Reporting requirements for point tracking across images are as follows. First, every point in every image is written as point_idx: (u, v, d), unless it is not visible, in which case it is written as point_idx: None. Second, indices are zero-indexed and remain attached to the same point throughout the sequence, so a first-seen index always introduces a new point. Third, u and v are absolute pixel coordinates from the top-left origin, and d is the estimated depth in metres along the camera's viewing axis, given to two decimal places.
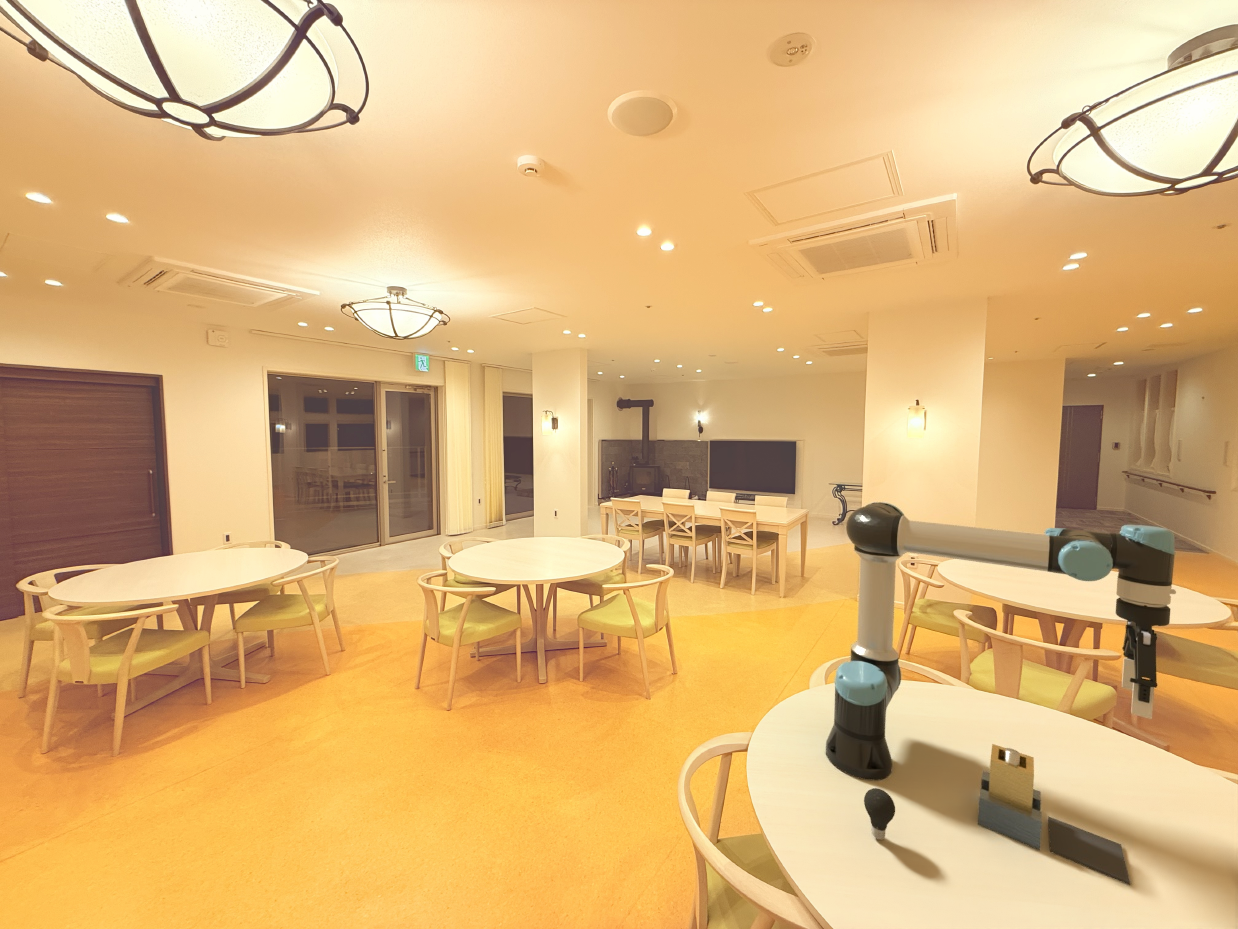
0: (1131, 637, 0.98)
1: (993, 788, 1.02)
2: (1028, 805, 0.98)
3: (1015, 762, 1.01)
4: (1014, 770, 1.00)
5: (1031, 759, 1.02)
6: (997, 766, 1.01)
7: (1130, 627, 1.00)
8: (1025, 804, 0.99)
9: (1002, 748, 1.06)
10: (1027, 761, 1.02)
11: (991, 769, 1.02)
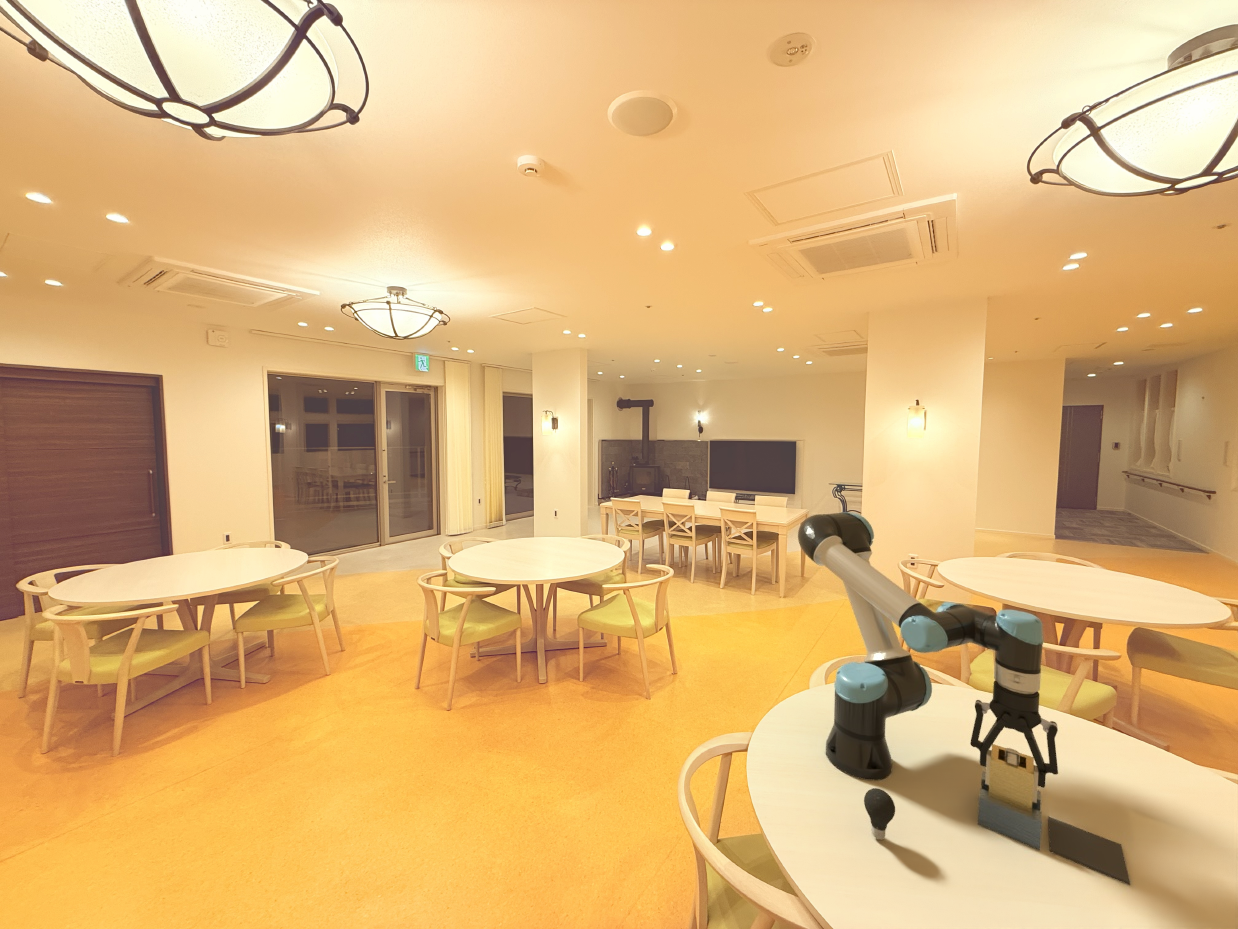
0: None
1: (993, 788, 1.02)
2: (1028, 805, 0.98)
3: (1015, 762, 1.01)
4: (1014, 770, 1.00)
5: (1031, 759, 1.02)
6: (997, 766, 1.01)
7: None
8: (1025, 804, 0.99)
9: (1002, 748, 1.06)
10: (1027, 761, 1.02)
11: (991, 769, 1.02)
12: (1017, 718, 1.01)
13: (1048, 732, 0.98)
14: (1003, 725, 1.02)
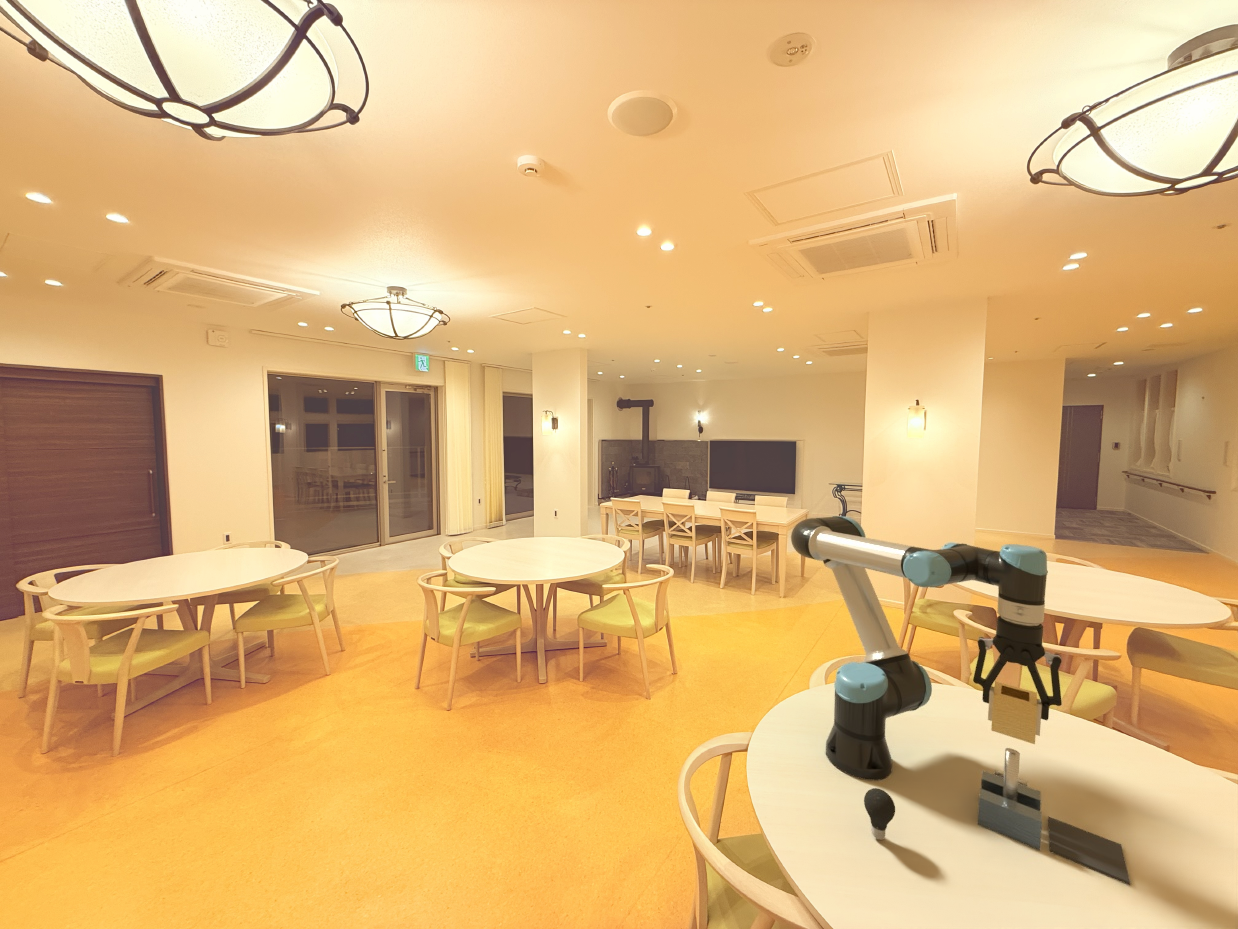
0: None
1: (996, 723, 1.01)
2: (1031, 737, 0.98)
3: (1015, 762, 1.01)
4: (1017, 703, 0.99)
5: (1034, 693, 1.02)
6: (1000, 700, 1.01)
7: None
8: (1028, 736, 0.98)
9: (1005, 685, 1.05)
10: (1030, 695, 1.01)
11: (994, 703, 1.01)
12: (1020, 651, 1.00)
13: (1052, 663, 0.97)
14: (1006, 659, 1.01)
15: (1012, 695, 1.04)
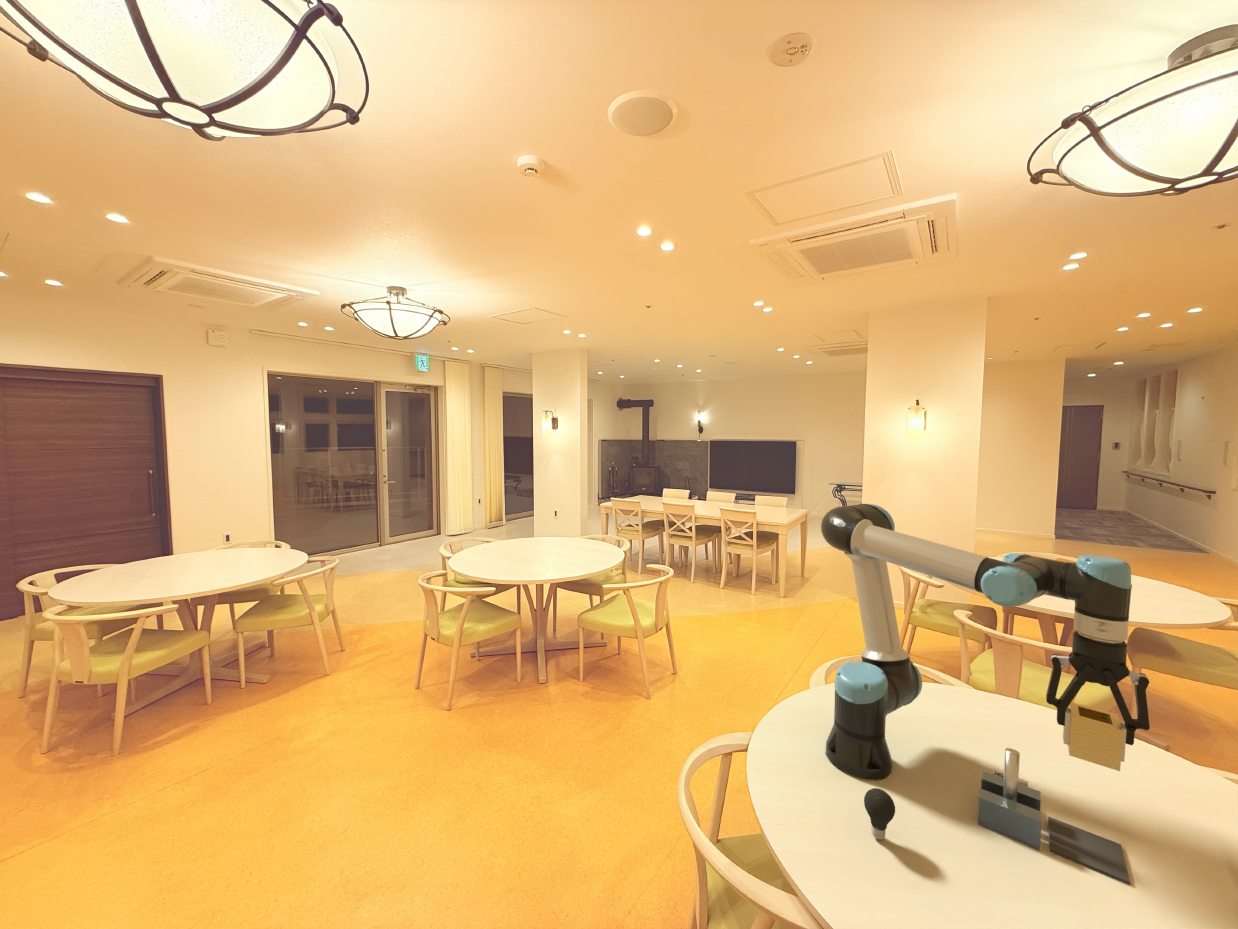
0: None
1: (1074, 747, 0.94)
2: (1116, 764, 0.91)
3: (1015, 762, 1.01)
4: (1099, 726, 0.92)
5: (1115, 715, 0.95)
6: (1079, 723, 0.94)
7: None
8: (1112, 763, 0.91)
9: (1081, 705, 0.98)
10: (1112, 717, 0.94)
11: (1072, 726, 0.94)
12: (1101, 671, 0.93)
13: (1138, 684, 0.90)
14: (1085, 679, 0.94)
15: (1090, 717, 0.97)
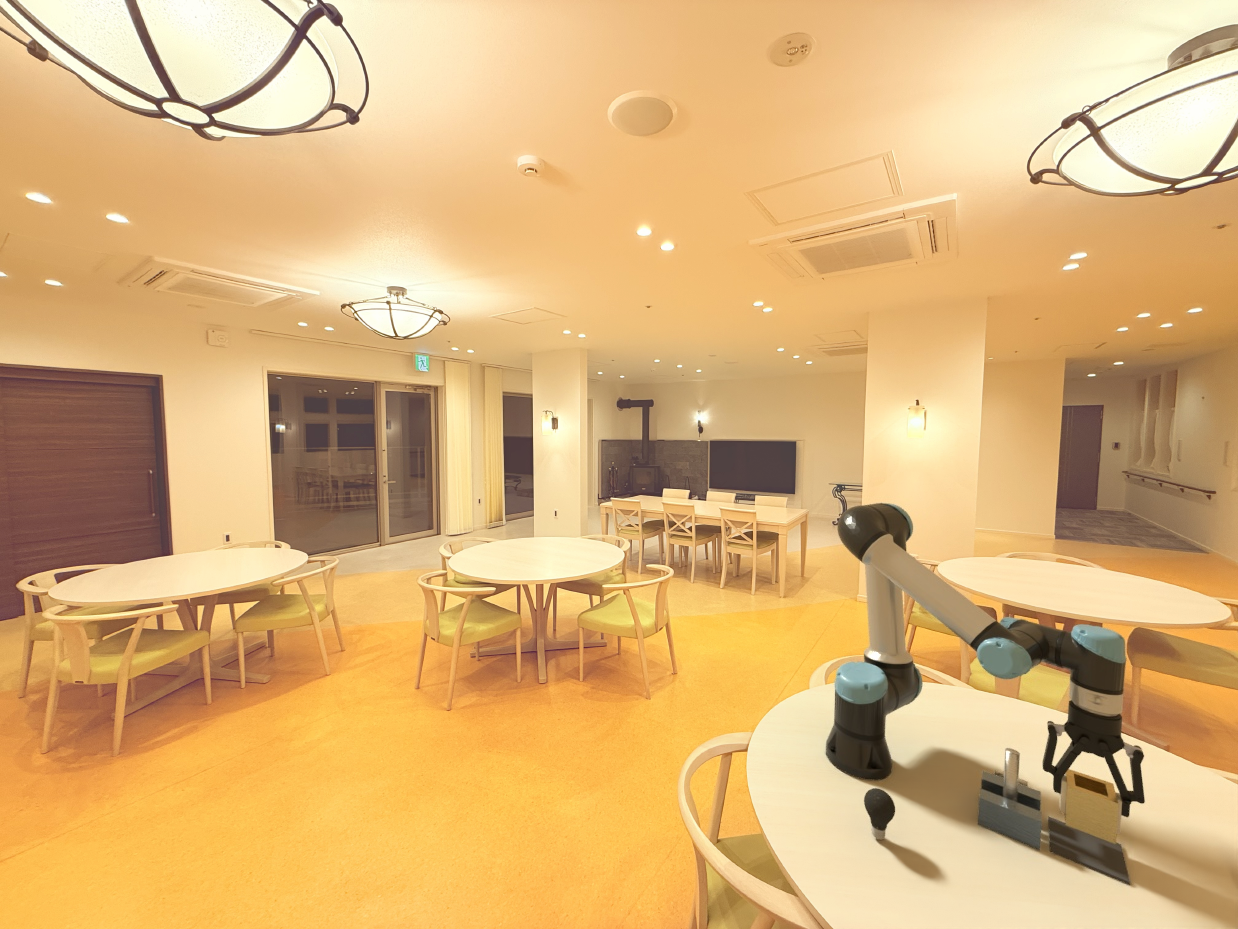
0: None
1: (1071, 817, 0.95)
2: (1112, 836, 0.91)
3: (1015, 762, 1.01)
4: (1095, 798, 0.93)
5: (1110, 785, 0.95)
6: (1075, 793, 0.94)
7: None
8: (1108, 835, 0.92)
9: (1077, 773, 0.99)
10: (1107, 788, 0.95)
11: (1068, 796, 0.95)
12: (1097, 742, 0.94)
13: (1133, 758, 0.91)
14: (1081, 749, 0.95)
15: (1086, 785, 0.98)
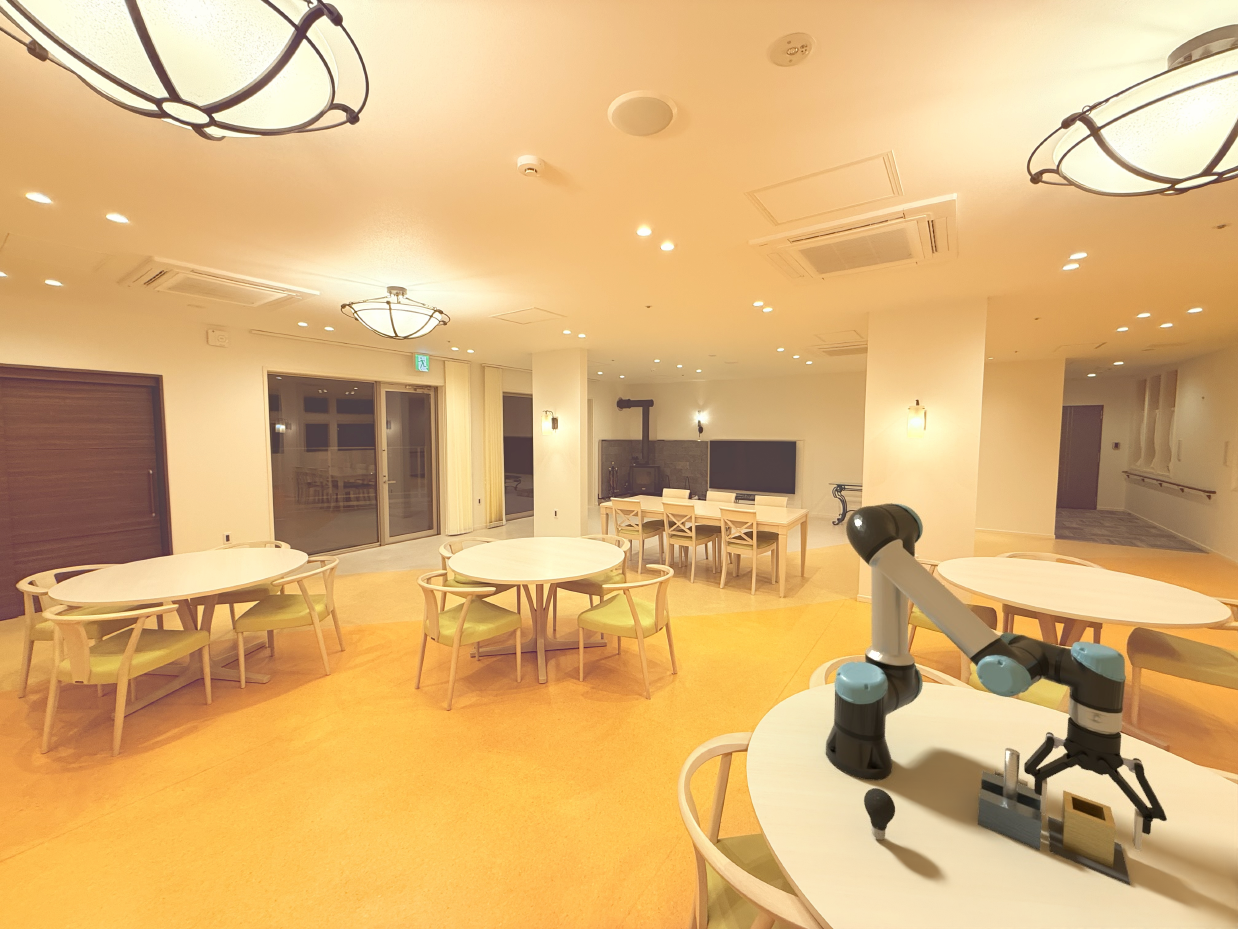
0: None
1: (1068, 840, 0.95)
2: (1109, 861, 0.92)
3: (1015, 762, 1.01)
4: (1093, 822, 0.93)
5: (1108, 809, 0.96)
6: (1073, 817, 0.95)
7: None
8: (1105, 859, 0.92)
9: (1075, 796, 0.99)
10: (1105, 812, 0.95)
11: (1066, 820, 0.95)
12: (1096, 760, 0.94)
13: (1135, 772, 0.91)
14: (1075, 763, 0.96)
15: (1083, 808, 0.98)
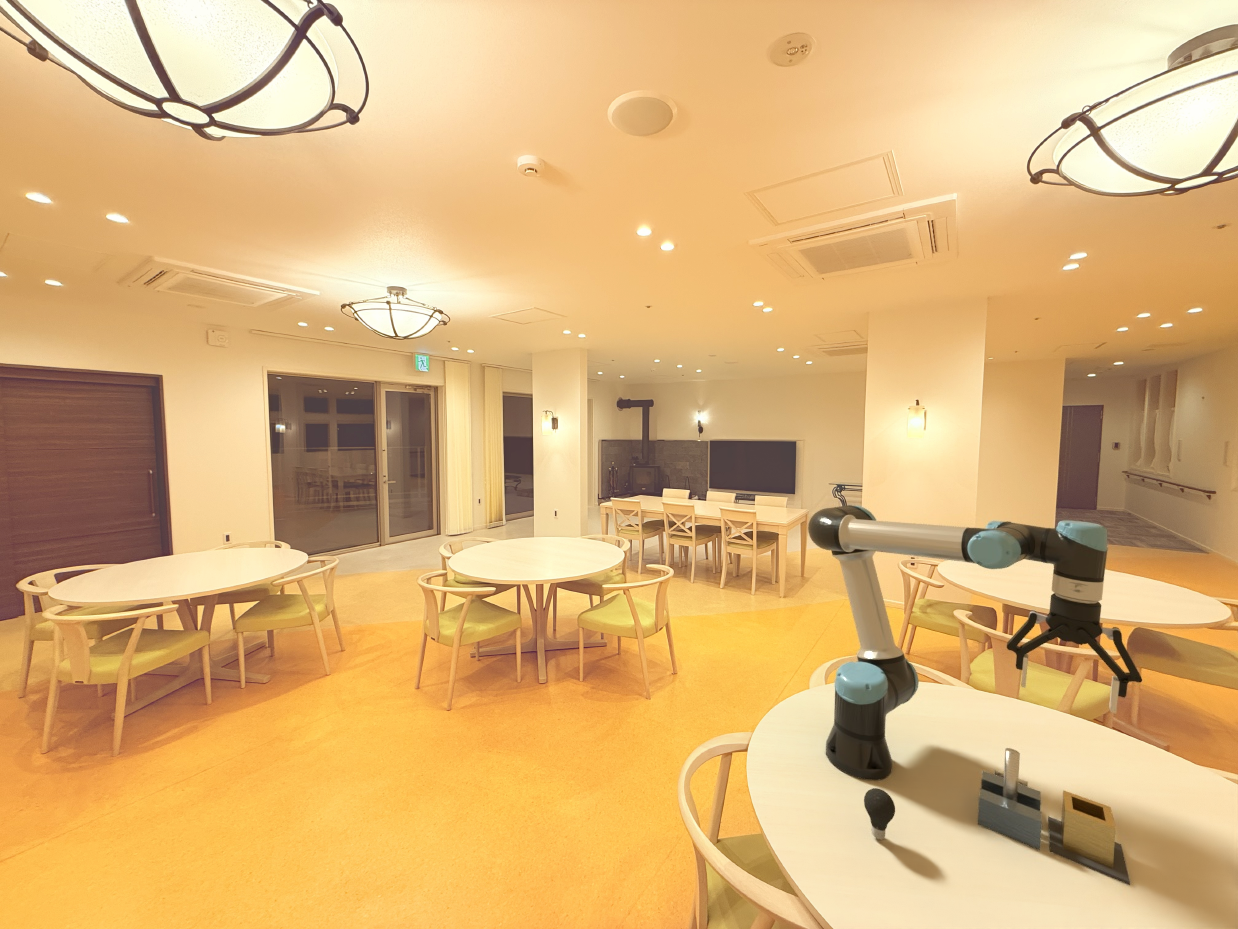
0: None
1: (1068, 840, 0.95)
2: (1109, 861, 0.92)
3: (1015, 762, 1.01)
4: (1093, 822, 0.93)
5: (1108, 809, 0.96)
6: (1073, 817, 0.95)
7: None
8: (1105, 859, 0.92)
9: (1075, 796, 0.99)
10: (1105, 812, 0.95)
11: (1066, 820, 0.95)
12: (1076, 631, 0.97)
13: (1113, 638, 0.94)
14: (1056, 635, 0.99)
15: (1083, 808, 0.98)
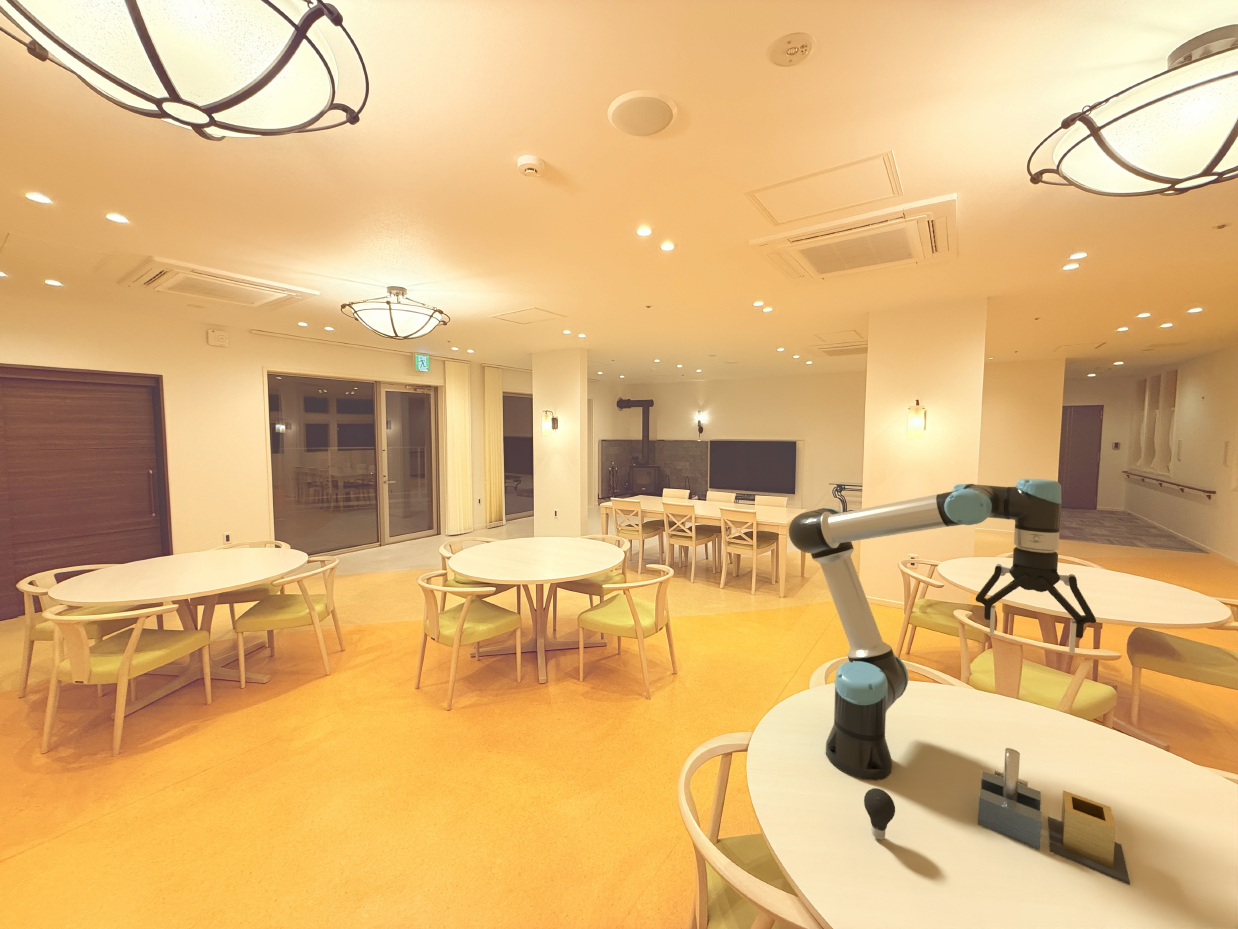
0: None
1: (1068, 840, 0.95)
2: (1109, 861, 0.92)
3: (1015, 762, 1.01)
4: (1093, 822, 0.93)
5: (1108, 809, 0.96)
6: (1073, 817, 0.95)
7: None
8: (1105, 859, 0.92)
9: (1075, 796, 0.99)
10: (1105, 812, 0.95)
11: (1066, 820, 0.95)
12: (1037, 580, 1.06)
13: (1069, 584, 1.02)
14: (1019, 585, 1.07)
15: (1083, 808, 0.98)
